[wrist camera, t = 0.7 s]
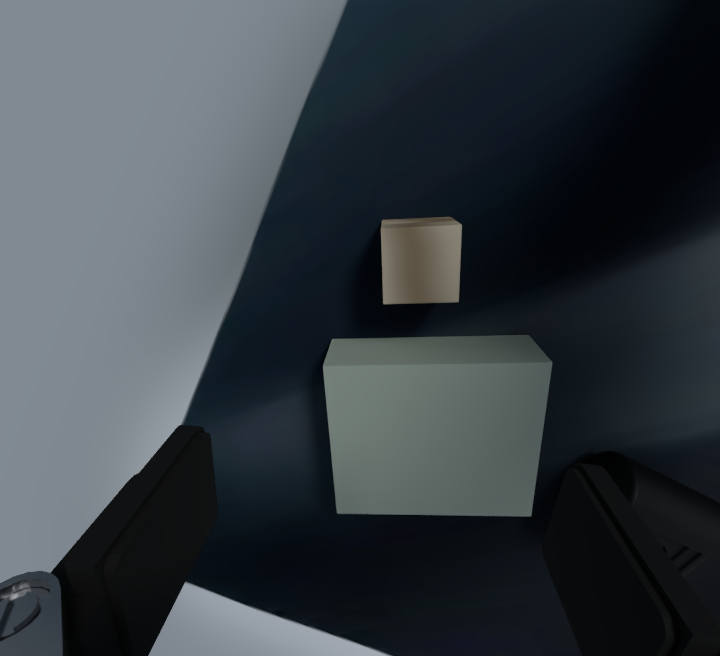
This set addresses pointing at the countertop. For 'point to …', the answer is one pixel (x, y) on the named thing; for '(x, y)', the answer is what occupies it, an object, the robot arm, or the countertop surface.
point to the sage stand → (436, 424)
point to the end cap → (667, 510)
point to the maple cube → (421, 260)
